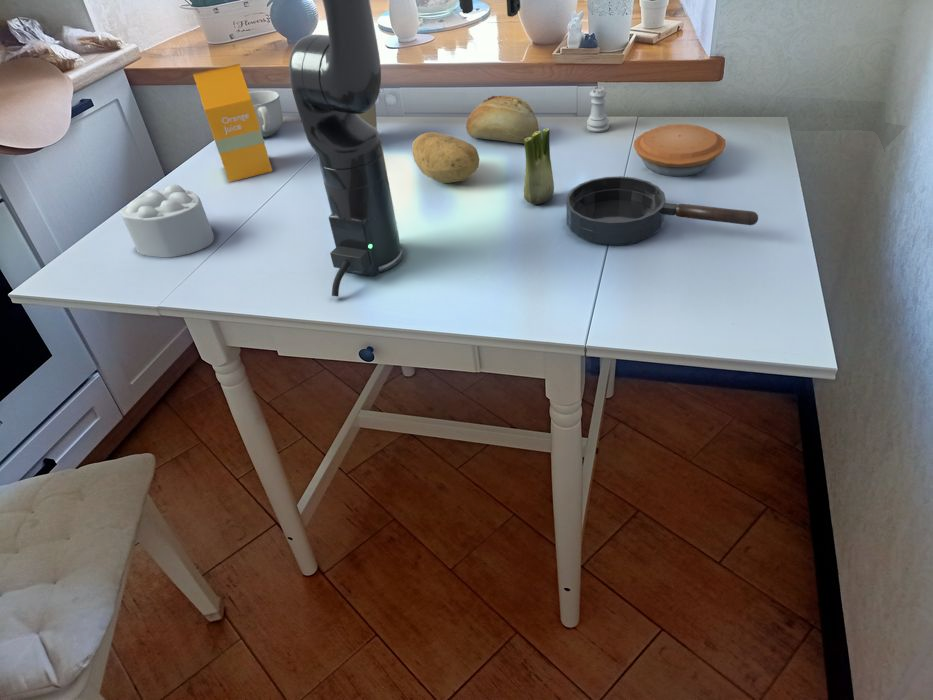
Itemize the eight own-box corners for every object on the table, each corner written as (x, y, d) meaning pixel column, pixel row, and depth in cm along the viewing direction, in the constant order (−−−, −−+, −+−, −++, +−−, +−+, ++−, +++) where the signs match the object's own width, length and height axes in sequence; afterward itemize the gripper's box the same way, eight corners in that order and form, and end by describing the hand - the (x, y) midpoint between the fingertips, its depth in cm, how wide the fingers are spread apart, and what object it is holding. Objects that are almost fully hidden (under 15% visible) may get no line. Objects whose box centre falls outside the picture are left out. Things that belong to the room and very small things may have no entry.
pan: (650, 253, 105) (652, 228, 102) (553, 240, 111) (553, 215, 108) (672, 205, 115) (674, 181, 113) (582, 195, 121) (582, 172, 118)
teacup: (238, 129, 162) (227, 94, 157) (285, 119, 164) (275, 84, 159) (242, 151, 152) (230, 115, 146) (292, 140, 153) (282, 104, 148)
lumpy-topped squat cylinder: (165, 223, 129) (147, 179, 123) (227, 228, 125) (210, 182, 120) (129, 254, 121) (108, 208, 116) (193, 259, 118) (174, 213, 112)
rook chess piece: (612, 125, 142) (613, 85, 137) (603, 134, 139) (604, 93, 134) (592, 123, 144) (592, 83, 139) (582, 131, 141) (582, 91, 136)
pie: (639, 142, 135) (640, 117, 131) (726, 146, 130) (729, 119, 126) (625, 179, 124) (626, 152, 120) (719, 185, 119) (723, 156, 116)
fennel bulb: (549, 191, 123) (547, 123, 116) (561, 202, 120) (560, 134, 112) (518, 199, 122) (514, 131, 115) (529, 211, 119) (525, 142, 111)
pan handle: (756, 228, 103) (758, 216, 101) (660, 217, 108) (661, 205, 107) (758, 221, 104) (760, 209, 103) (663, 211, 109) (664, 199, 108)
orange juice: (273, 171, 142) (242, 69, 129) (228, 182, 140) (193, 80, 127) (266, 157, 148) (237, 58, 135) (224, 168, 146) (190, 68, 133)
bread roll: (476, 127, 148) (473, 89, 143) (546, 130, 144) (544, 91, 138) (460, 146, 142) (455, 107, 137) (532, 150, 137) (530, 110, 132)
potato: (459, 199, 124) (454, 156, 119) (404, 181, 132) (397, 139, 127) (495, 177, 129) (492, 135, 124) (440, 161, 137) (435, 120, 132)
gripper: (428, -99, 106) (441, 17, 116) (510, -101, 99) (516, 22, 109) (456, -107, 111) (466, 5, 121) (536, -110, 104) (540, 10, 114)
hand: (490, 13), depth 115 cm, fingers open, 8 cm apart
